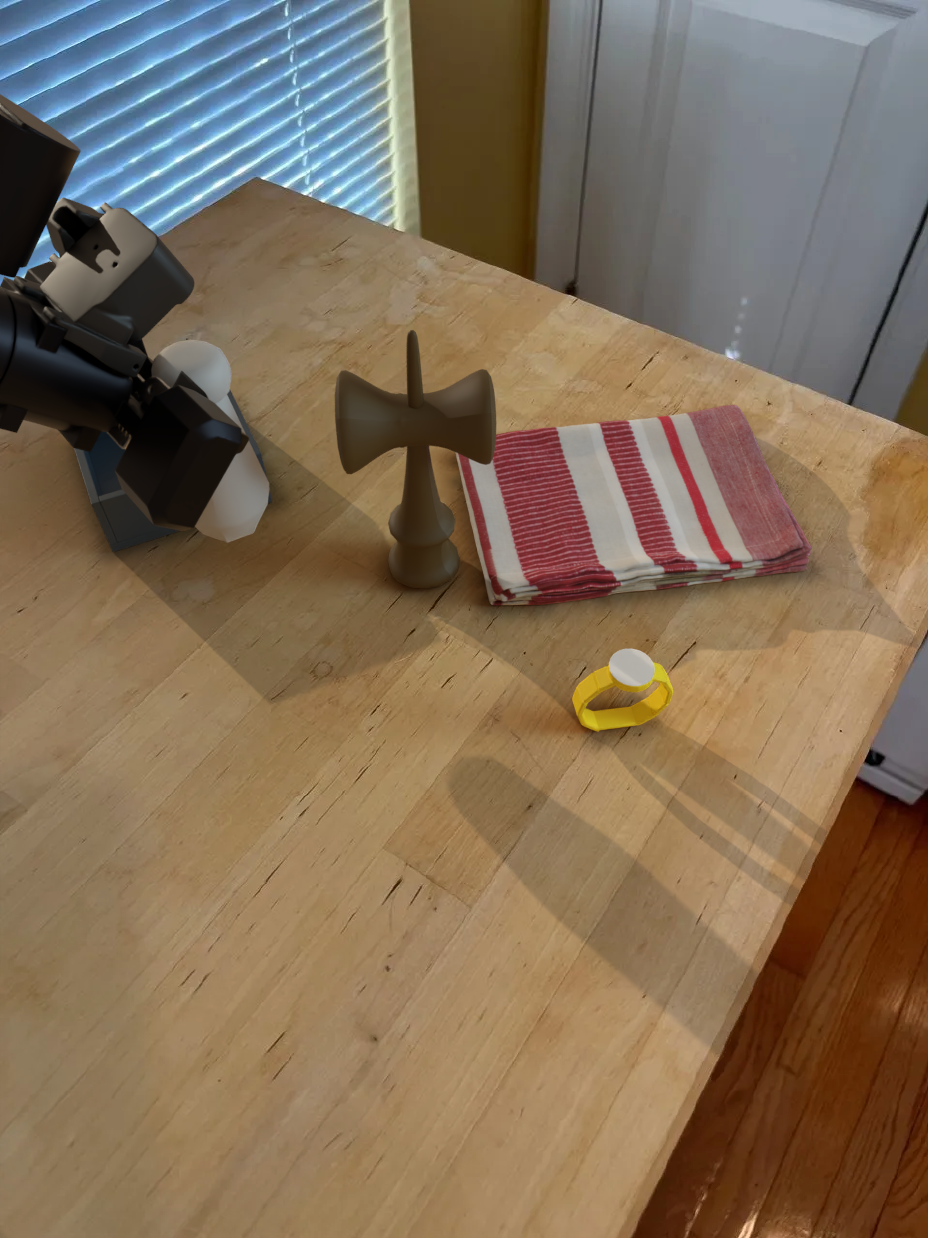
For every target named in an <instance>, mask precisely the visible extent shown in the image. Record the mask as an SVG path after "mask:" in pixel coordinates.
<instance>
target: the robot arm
mask: <svg viewBox="0 0 928 1238" xmlns="http://www.w3.org/2000/svg"><path fill="white" fill-rule="evenodd" d="M80 153H81V149H80V148H79V147H78V146H77V145H76V144H75V143H74V142H73V141H72V140H70V139H68V137H66V136H65V135H63V134H62V133H61V132H59V131H58V130H56V129H55V128H54V127H53V126H51V125H49V124H48V123H46V122H45V121H43V120H42V119H41V118H39V117H37V116H36V115H34V114H32V113H31V112H30V111H28V110H26V109H25V108H23V107H22V106H20V105H19V104H17V103H16V102H14V101H12V100H11V99H9V98H8V97H6V96H5V95H2V94H1V93H0V276H4V277H3V279H2V281H1V283H0V430H4V431H7V432H11V433H15V434H17V433H18V432H19V430H20V428H21V425H22V423H23V421H25V422H29V423H32V424H36V425H40V426H43V427H47V428H50V429H54V430H57V431H58V432H59V433H60V434H61V435H62V437H63V438H64V439H65V440H66V442H67V443H69V445H70V446H71V447H72V448H73V449H74V448H76V449H80V450H84V451H87V452H91V450H92V449H93V447H94V445H95V443H96V441H97V439H98V437H99V435H100V433H101V431H104V432H107V434H108V435H109V436H110V437H111V438H112V439H113V440H114V441H115V442H116V443H117V444H118V446H119V447H120V448H122V449H125V452H124V454H123V455H122V457H121V459H120V461H119V463H118V465H117V467H116V469H115V472H116V475H117V478H118V480H119V483H120V485H121V488H122V490H123V491H124V492H125V493H126V494H127V495H128V496H129V498H130V499H131V500H132V501H133V502H134V503H135V504H136V505H137V507H138V508H139V509H140V510H141V511H142V512H143V513H144V515H145V516H146V517H147V518H148V519H149V520H150V521H151V522H152V524H153V525H155V526H160V527H165V528H170V529H175V530H180V531H179V532H185V531H189V530H193V529H195V528H196V527H195V525H196V524H197V522H198V520H199V518H200V517H201V515H202V513H203V511H204V510H205V508H206V506H207V504H208V503H209V501H210V499H211V497H212V496H213V494H214V492H215V490H216V489H217V487H218V485H219V483H220V482H221V480H222V478H223V476H224V475H225V473H226V471H227V469H228V468H229V466H230V464H231V462H232V461H233V459H234V457H235V455H236V454H238V453H241V452H242V451H243V450H244V448H245V446H246V445H247V443H248V441H249V437H248V436H247V435H246V434H245V433H243V432H242V431H241V428H240V427H239V426H238V425H237V424H236V423H235V422H234V421H233V420H232V419H231V418H230V417H229V416H228V415H227V414H226V413H225V412H224V411H222V410H221V409H220V408H219V407H218V406H217V405H216V404H215V403H214V402H212V401H211V400H209V398H208V396H207V394H206V393H205V392H204V391H203V390H202V389H201V388H200V387H199V386H198V385H197V384H196V383H195V382H194V381H193V380H192V379H190V378H189V377H188V376H187V375H186V374H185V373H184V372H183V371H181V372H180V374H179V376H178V378H177V380H176V381H175V383H174V385H173V387H170V386H168V385H167V384H166V383H165V382H164V381H163V380H162V379H160V378H158V377H155V376H152V371H151V369H152V365H153V360H154V359H152V358H151V357H149V355H148V352H147V349H146V345H145V344H144V340H143V338H144V337H145V336H147V335H148V334H149V333H150V332H151V331H152V330H153V329H154V328H155V327H156V326H157V325H158V324H159V323H160V322H161V321H162V320H163V319H164V318H165V317H166V316H167V315H168V314H169V313H170V312H171V311H172V309H174V308H175V307H176V306H177V305H182V304H184V302H186V300H188V298H189V297H191V294H192V293H193V292H194V288H195V279H194V276H193V275H192V274H191V273H190V272H189V271H188V270H187V269H186V267H185V266H184V265H183V264H182V263H181V262H180V261H179V259H178V258H177V257H176V256H175V255H174V253H173V252H172V251H171V250H170V249H169V248H168V247H167V245H166V244H165V243H164V242H163V240H162V239H161V238H160V237H159V236H158V235H157V234H156V233H155V232H154V231H153V230H152V229H151V228H149V226H147V225H146V224H144V222H143V221H141V220H140V219H139V218H137V217H136V216H135V215H134V214H133V213H132V212H131V211H130V210H128V209H126V208H125V207H115V208H113V207H112V206H111V205H110V204H108V203H107V202H104V203H102V204H101V205H100V206H99V209H100V210H101V211H102V212H103V213H102V212H98V211H97V210H96V209H95V208H93V207H91V206H88V205H86V204H83V203H82V202H81V203H80V202H78V201H75V200H72V199H70V198H66V197H60V196H61V194H62V192H63V190H64V188H65V185H66V183H67V181H68V179H69V177H70V175H71V173H72V171H73V169H74V167H75V164H76V162H77V161H78V158H79V156H80ZM46 228H47V232H48V235H49V238H50V242H51V245H52V247H53V249H54V251H56V252H57V254H58V255H57V254H56V253H55V252H54V253H52V254H51V255H50V256H49V257H48V259H49V261H46V262H43V263H42V264H38V265H35V266H33V267H30V268H28V269H27V271H26V273H25V275H24V277H22V276H19V275H18V272H19V271H20V269H23V268H26V267H28V264H29V262H30V260H31V258H32V255H33V254H34V251H35V249H36V247H37V245H38V243H39V241H40V239H41V237H42V235H43V232H44V231H45V229H46ZM11 278H14V279H11Z"/></svg>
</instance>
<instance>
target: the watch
mask: <svg viewBox="0 0 928 1238" xmlns="http://www.w3.org/2000/svg"><path fill="white" fill-rule="evenodd" d="M653 682H654V683H658V687H656V689H654V691H652V692H651V693H650V694H649V695H648V696H647V697H645V698H644V699H642V700H640V701H638V702H636V703H634V704H632V705H630V706H623V707H615V708H608V709H607V708H606V709H600V710H599V709H598V710H591V709H589V708H587V706H588V703H589V702H591V701H592V700H594V699H595V698H596V697H597V696H598V695H600V694H601V693H602V692H604V691H607V690H610V689H611V688H614V687H616V689H619V690H621V691H624V692H627V693H639V692H640V693H641V692H643V691H645V690H647V689H648V688H649V687H650V686H651V685H652V684H653ZM673 696H674V688H673V685H672V683H671V680H670V677H669V674H668V673H667V672H666V670H665V668H664V667H663V665H662V664H660V663H657V662H655V661H653V660H652V658H651V657H650V656H649V655H648V654H647V653H646V652H643V651H641V650H640V649H636V648H622V649H619V650H617V651H616V652H613V654H612V656H611V657H610V658H609V660H608V665H605V666H603V667H601V668H598V669H596V670H594V671H593V672H591V673H590V674H589V675H588V676H586V677H585V678H584V679H582V681H579V683H578V685H577V686H576V687H575V690H574V692H573V695H572V699H571V701H572V704H573V707H574V711H575V714H576V717H577V719H578V722H579V723H580V725H582V727H584V728H588V729H589V730H591V731H594V732H596V733H599V732H600V731H605V730H611V729H613V730H614V729H621V728H628V727H635V726H640V725H643V724H644V723H646V722H649V721H650V720H652V719H655V718H656V717H657V716H659V715H660V714H661V713H662V712H663V711H664V710H665V709H666V708H667V707H668V706H669V705H670V704H671V702H672V698H673Z"/></svg>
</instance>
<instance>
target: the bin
mask: <svg viewBox="0 0 928 1238" xmlns="http://www.w3.org/2000/svg"><path fill="white" fill-rule="evenodd" d="M227 396H228V398H229V400H230V402H231V404H232V406H233V408H234V410H235V412H236V414H237V417H238V419H239V421H240V423H241V425H242V427H243V429H244V431H245V433H246V435H247V436H248V437H249V442H250V444H251V446H252V448H253V450H254V452H255V455H256V457H257V459H258V461H259V463H260V465H261V467H262V469H263V471H264V473H265V476H266V478H267V479H268V476H267V472H266V468H265V464H264V463H265V462H264V459H263V454H262V452H261V449H260V448H259V445H258V443H257V441H256V439H255V437H254V435H253V433H252V431H251V430H250V427H249V424H248V423H247V421H246V419H245V417H244V415H243V413H242V410H241V409H240V406H239V405H238V402H237V401H236V398H235V397H234V394H233V391H232V390H231V389H230V390H229V392H228V393H227ZM73 450H74V454H75V458H76V460H77V463H78V466H79V470H80V473H81V476H82V479H83V483H84V485H85V489H86V492H87V496H88V499H89V502H90V505H91V507H92V510H93V511H94V514H95V516H96V518H97V521H98V523H99V525H100V527H101V530H102V532H103V534H104V536H105V538H106V540H107V543H108V546H109V547H110V550H111V552H112V553H115V552H118V551H123V550H125V549H127V548H131V547H134V546H137V545H141V544H144V543H148V542H149V541H154V540H157V539H160V538H163V537H166V536H170V535H173V534H175V533H178V532H181V531H180V530H175V529H170V528H165V527H160V526H155V525H153V524H152V522H151V521H150V520H149V519H148V518H147V517H146V516H145V515H144V513H143V512H142V511H141V510H140V509H139V508H138V507H137V505H136V504H135V503H134V502H133V501H132V500H131V499H130V498H129V496H128V495H127V494H126V493H125V492H124V491H123V490H122V488H121V485H120V483H119V480H118V478H117V475H116V472H115V469H116V467H117V465H118V463H119V461H120V459H121V457H122V455H123V454H124V452H125V449H122V448H120V447H119V446H118V444H117V443H116V442H115V441H114V440H113V439H112V438H111V437H110V436H109V435H108V434H107V432H104V431H101V433H100V435H99V437H98V439H97V441H96V443H95V445H94V447H93V449H92V450H91V452H87V451H84V450H80V449H76V448H73ZM271 503H273V499H272V494H271V490H270V488H269V497H268V504H271Z"/></svg>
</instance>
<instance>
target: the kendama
mask: <svg viewBox="0 0 928 1238" xmlns="http://www.w3.org/2000/svg"><path fill="white" fill-rule="evenodd" d="M406 335H407V336H406V353H405V355H406V393H401V392H398V393H393V392H389V391H386V390H385V389H382V388H379V387H378V386H376V385H374V384H372V383H371V382H369V381H367V380H366V379H364V378H362V377H361V376H358V375H357V374H355V373H353V372H351V371H349V370H346V369H343V370H340V372H339V373H338V375H337V377H336V382H335V389H334V422H335V423H334V424H335V434H336V443H337V451H338V455H339V459H340V463H341V466H342V469H343V471H344V472H345V474H346V475H353V474H355V473H357V472H358V471H360V470H362V469H363V468H365V467H366V466H368V465H369V464H370V463H372V462H373V461H374V460H376V459H377V458H380V457H382V456H383V455H384V454H385V453H387V452H389V451H392V450H394V449H398V448H401V449H402V448H403V449H404V448H406V454H405V456H406V457H405V471H404V481H403V490H402V495H401V496H402V497H401V501H400V503H399V504H397V505H396V506H395V508H394V509H393V510H392V511H391V512H390V514H389V518H388V522H387V524H388V529H389V533H390V535H391V536H392V537H393V538H394V539H395V540H396V541H395V543H394V544H393V545H392V546H391V548H390V550H389V554H388V557H387V558H388V559H387V563H388V568H389V572H390V574H391V576H392V577H393V578H394V580H396V582H397V583H399V584H401V585H404V586H406V587H408V588H412V589H413V588H414V589H430V588H436V587H441V586H442V585H444V584H446V583H448V582H450V581H452V580H453V579H454V577H455V576H456V574H457V573H458V572H459V566H460V561H461V560H460V559H461V557H460V554H459V551H458V547H457V546H456V545H455V544H454V542H452V540H450V537H451V536H452V535H453V533H454V532H455V527H456V518H455V515H454V512H453V510H452V509H451V507H449V506H448V505H447V504H446V502H442V501H441V498H440V495H439V492H438V487H437V482H436V478H435V472H434V467H433V463H432V457H431V451H430V447H437V448H438V447H439V448H443V449H447V450H449V451H452V452H454V453H455V452H456V453H458V454H460V455H463V456H465V457H467V458H469V459H471V460H473V461H475V462H478V463H480V464H484V465H487V464H490V463H491V461H492V459H493V456H494V452H495V445H496V435H497V405H496V404H497V403H496V393H495V387H494V382H493V378H492V376H491V374H490V373H489V371H488V370H487V369H484V368H481V369H479V370H476V371H473V372H472V373H470V374H468V375H466V376H464V377H463V378H461V379H459V380H458V381H456V382H454V383H452V384H451V385H449V386H447V387H445V388H442V389H440V390H436V391H431V392H425V393H424V386H423V374H422V364H421V363H422V362H421V353H420V352H421V351H420V346H419V345H420V344H419V338H418V334H417V331H415V330H414V329H410V330H409V331H408V332H407V334H406ZM456 453H455V454H456Z"/></svg>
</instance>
